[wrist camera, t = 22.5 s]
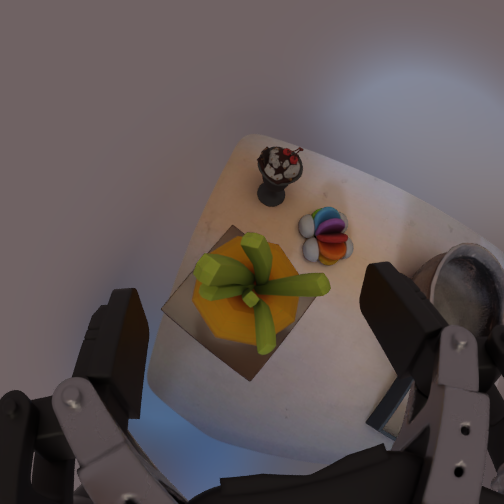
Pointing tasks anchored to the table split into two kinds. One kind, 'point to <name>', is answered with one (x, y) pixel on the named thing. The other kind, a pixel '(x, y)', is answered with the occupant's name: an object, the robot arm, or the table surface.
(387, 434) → the square storage tray
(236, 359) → the block
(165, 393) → the table surface
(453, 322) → the ceramic bowl
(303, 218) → the rainbow cloud toy
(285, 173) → the sundae
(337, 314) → the table surface
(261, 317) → the carrot
